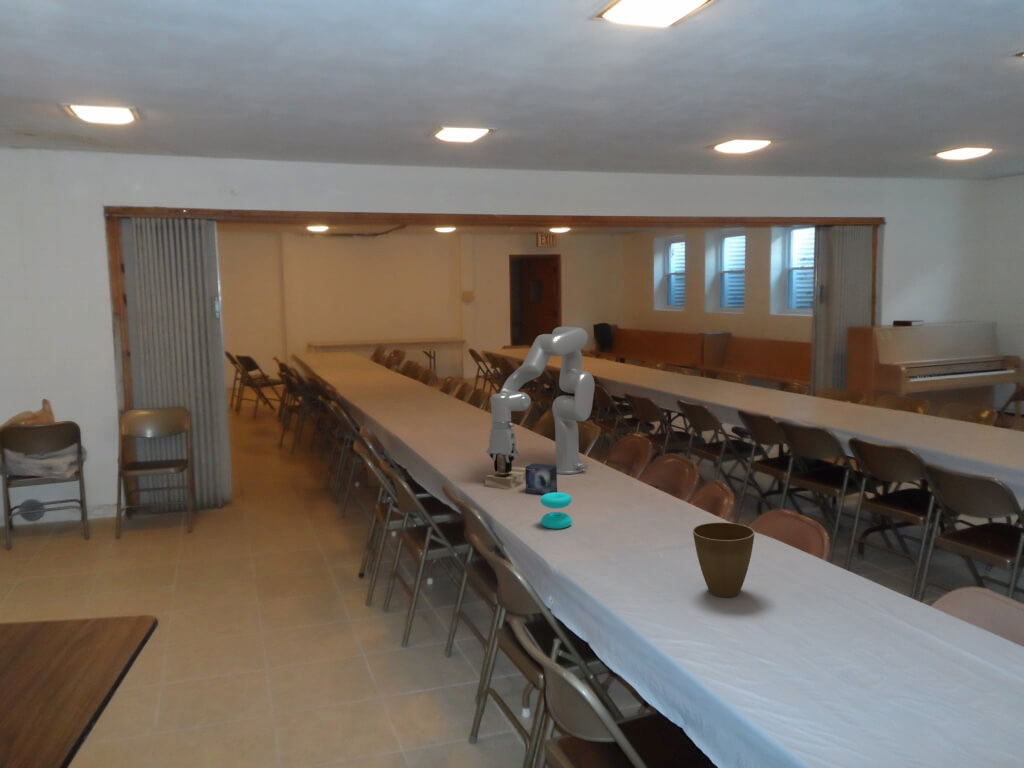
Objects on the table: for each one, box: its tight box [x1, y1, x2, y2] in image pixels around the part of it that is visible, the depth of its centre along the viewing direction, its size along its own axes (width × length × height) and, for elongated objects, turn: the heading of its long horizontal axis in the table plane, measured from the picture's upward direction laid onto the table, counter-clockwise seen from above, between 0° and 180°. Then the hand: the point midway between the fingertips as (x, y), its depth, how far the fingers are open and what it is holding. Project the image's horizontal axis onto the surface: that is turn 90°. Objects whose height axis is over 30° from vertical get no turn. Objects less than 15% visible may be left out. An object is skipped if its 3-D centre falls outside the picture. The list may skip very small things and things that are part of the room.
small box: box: [525, 462, 558, 496], centre depth 302 cm, size 11×6×10 cm, turn 62°
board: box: [484, 465, 526, 490], centre depth 320 cm, size 20×11×4 cm, turn 149°
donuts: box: [540, 491, 573, 530], centre depth 261 cm, size 10×10×10 cm
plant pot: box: [692, 521, 755, 598], centre depth 202 cm, size 15×15×16 cm
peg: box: [497, 453, 509, 478], centre depth 314 cm, size 4×4×12 cm
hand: (503, 470), depth 314 cm, fingers closed on peg, 4 cm apart
